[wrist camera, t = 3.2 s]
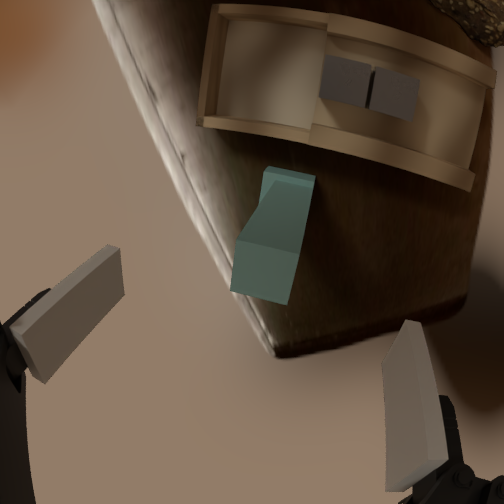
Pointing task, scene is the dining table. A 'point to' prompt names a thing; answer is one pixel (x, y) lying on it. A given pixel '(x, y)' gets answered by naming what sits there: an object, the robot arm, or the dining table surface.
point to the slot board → (332, 112)
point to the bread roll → (477, 18)
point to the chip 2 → (392, 93)
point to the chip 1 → (345, 80)
